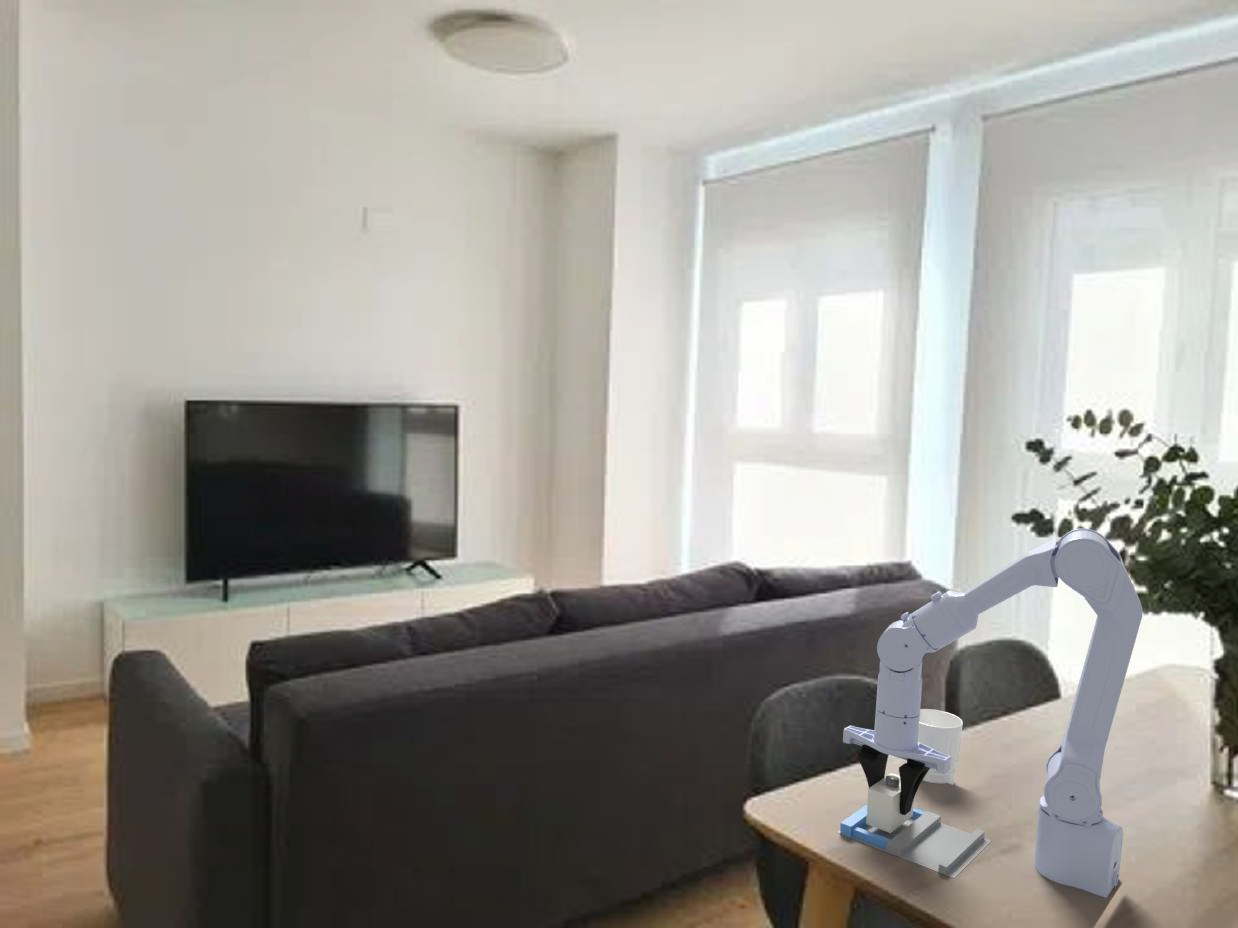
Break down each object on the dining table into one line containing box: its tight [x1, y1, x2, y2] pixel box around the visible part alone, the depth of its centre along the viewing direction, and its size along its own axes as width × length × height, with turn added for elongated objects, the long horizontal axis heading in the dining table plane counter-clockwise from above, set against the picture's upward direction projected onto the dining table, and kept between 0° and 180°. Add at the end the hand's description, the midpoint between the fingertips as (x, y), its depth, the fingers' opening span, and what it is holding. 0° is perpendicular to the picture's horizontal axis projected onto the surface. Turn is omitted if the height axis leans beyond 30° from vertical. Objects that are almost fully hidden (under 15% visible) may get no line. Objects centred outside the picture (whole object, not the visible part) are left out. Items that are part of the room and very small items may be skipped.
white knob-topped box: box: [866, 772, 915, 833], centre depth 126 cm, size 4×7×6 cm, turn 139°
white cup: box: [918, 708, 964, 786], centre depth 144 cm, size 8×8×10 cm
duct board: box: [836, 804, 992, 879], centre depth 124 cm, size 16×13×2 cm
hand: (890, 806), depth 126 cm, fingers closed on white knob-topped box, 3 cm apart
